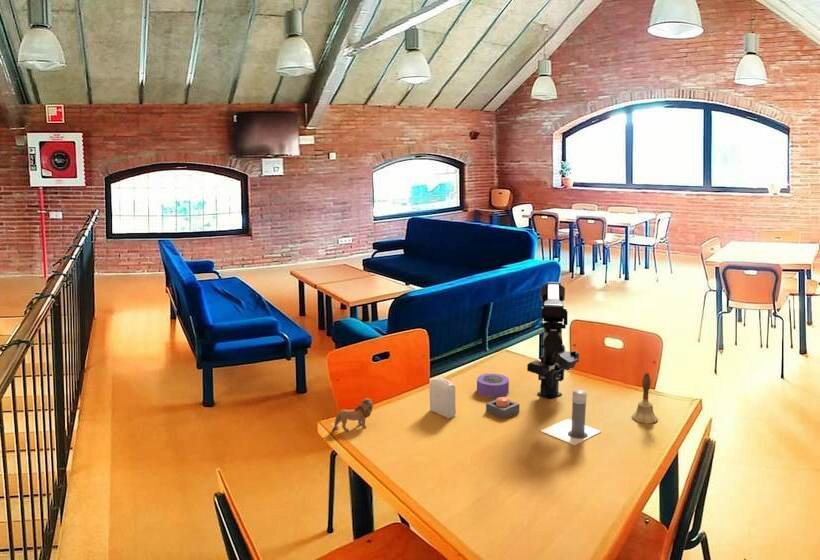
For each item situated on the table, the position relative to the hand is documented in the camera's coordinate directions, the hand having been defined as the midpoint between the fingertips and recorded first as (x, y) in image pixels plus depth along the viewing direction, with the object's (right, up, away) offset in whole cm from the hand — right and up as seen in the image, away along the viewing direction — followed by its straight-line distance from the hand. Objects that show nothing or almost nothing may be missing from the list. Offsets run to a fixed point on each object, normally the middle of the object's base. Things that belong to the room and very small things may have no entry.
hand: (550, 386), depth 220 cm
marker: (+6, -13, -9) cm, 18 cm away
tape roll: (-16, -6, +28) cm, 32 cm away
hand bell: (+32, -11, +2) cm, 34 cm away
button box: (-15, -10, +9) cm, 20 cm away
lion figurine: (-65, -13, -1) cm, 66 cm away
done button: (-15, -10, +9) cm, 20 cm away
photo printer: (-35, -11, +9) cm, 38 cm away
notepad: (+5, -13, -7) cm, 16 cm away
